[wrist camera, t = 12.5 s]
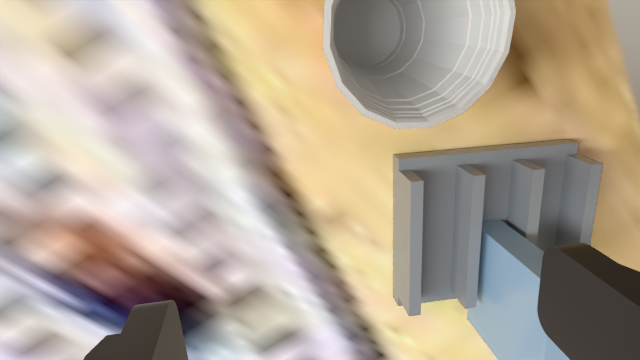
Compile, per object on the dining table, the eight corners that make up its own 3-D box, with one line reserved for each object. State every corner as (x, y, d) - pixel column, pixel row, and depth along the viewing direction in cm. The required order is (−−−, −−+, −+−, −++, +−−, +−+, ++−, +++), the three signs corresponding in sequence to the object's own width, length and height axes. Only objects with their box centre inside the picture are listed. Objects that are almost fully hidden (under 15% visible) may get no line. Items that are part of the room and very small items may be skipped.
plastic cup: (380, 127, 37) (437, 168, 25) (270, 49, 33) (280, 56, 22) (462, 14, 35) (563, 3, 23) (354, -80, 32) (411, -145, 20)
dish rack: (393, 154, 37) (411, 169, 33) (566, 139, 39) (604, 151, 35) (393, 296, 42) (408, 326, 38) (549, 276, 44) (580, 302, 40)
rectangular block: (473, 222, 39) (553, 289, 28) (500, 219, 39) (588, 285, 29) (467, 318, 42) (537, 410, 32) (491, 315, 42) (569, 405, 32)
